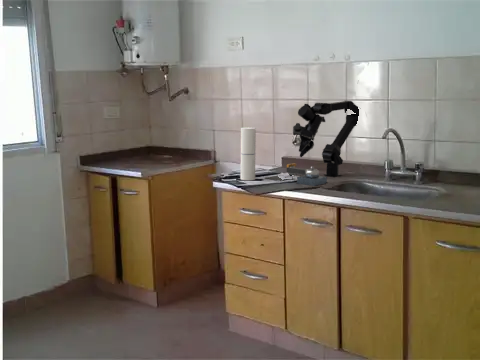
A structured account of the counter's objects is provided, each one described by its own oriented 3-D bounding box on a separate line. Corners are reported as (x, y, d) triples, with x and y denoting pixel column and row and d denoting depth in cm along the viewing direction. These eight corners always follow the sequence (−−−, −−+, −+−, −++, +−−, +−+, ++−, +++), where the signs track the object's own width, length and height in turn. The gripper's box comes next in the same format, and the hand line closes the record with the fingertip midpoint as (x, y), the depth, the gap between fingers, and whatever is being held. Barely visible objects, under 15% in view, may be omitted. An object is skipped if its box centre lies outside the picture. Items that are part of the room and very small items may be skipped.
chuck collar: (321, 176, 271) (321, 166, 271) (313, 177, 267) (313, 168, 266) (291, 171, 283) (291, 162, 282) (283, 173, 279) (283, 164, 278)
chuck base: (309, 180, 279) (309, 174, 278) (326, 183, 272) (326, 176, 272) (296, 183, 271) (297, 176, 271) (314, 185, 265) (314, 179, 264)
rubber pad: (277, 176, 291) (277, 175, 291) (293, 178, 284) (293, 177, 284) (264, 178, 283) (264, 177, 283) (280, 181, 277) (280, 180, 277)
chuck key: (292, 174, 296) (292, 163, 294) (297, 175, 294) (297, 163, 292) (285, 176, 291) (285, 164, 290) (289, 176, 289) (290, 164, 288)
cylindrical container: (238, 179, 280) (238, 128, 275) (243, 177, 286) (244, 127, 282) (252, 180, 277) (252, 128, 273) (257, 178, 284) (257, 127, 279)
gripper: (299, 126, 291) (286, 153, 289) (296, 113, 273) (283, 142, 271) (319, 134, 289) (306, 161, 286) (318, 121, 271) (305, 151, 268)
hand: (300, 154), depth 278 cm, fingers open, 9 cm apart
